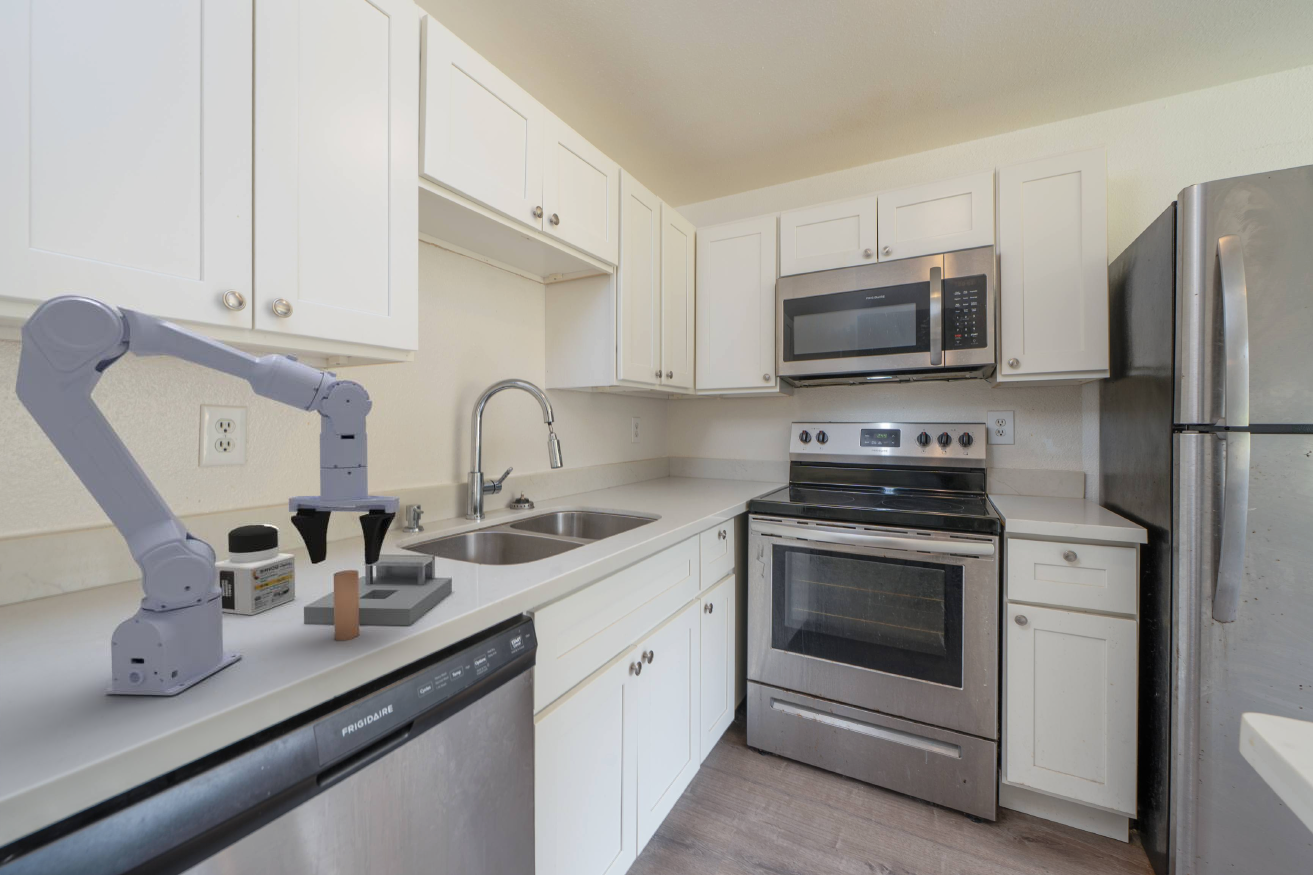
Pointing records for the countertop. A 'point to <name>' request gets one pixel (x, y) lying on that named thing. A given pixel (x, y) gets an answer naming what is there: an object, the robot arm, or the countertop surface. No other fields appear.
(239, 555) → the container
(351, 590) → the peg
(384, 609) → the socket board
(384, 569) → the grey bridge
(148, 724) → the countertop surface
